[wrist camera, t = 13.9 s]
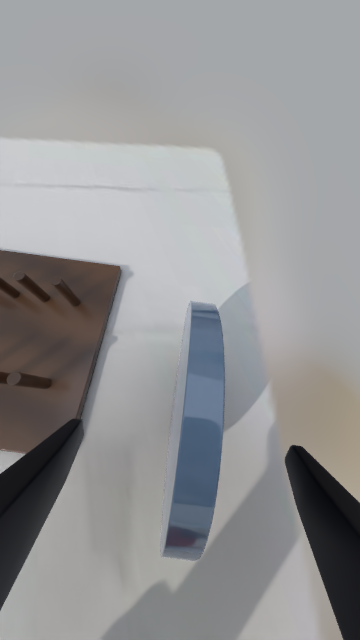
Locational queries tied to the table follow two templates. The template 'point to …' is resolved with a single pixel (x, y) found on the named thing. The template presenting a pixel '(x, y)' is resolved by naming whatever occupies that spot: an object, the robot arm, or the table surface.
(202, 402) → the plate
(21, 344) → the rack
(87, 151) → the table surface
